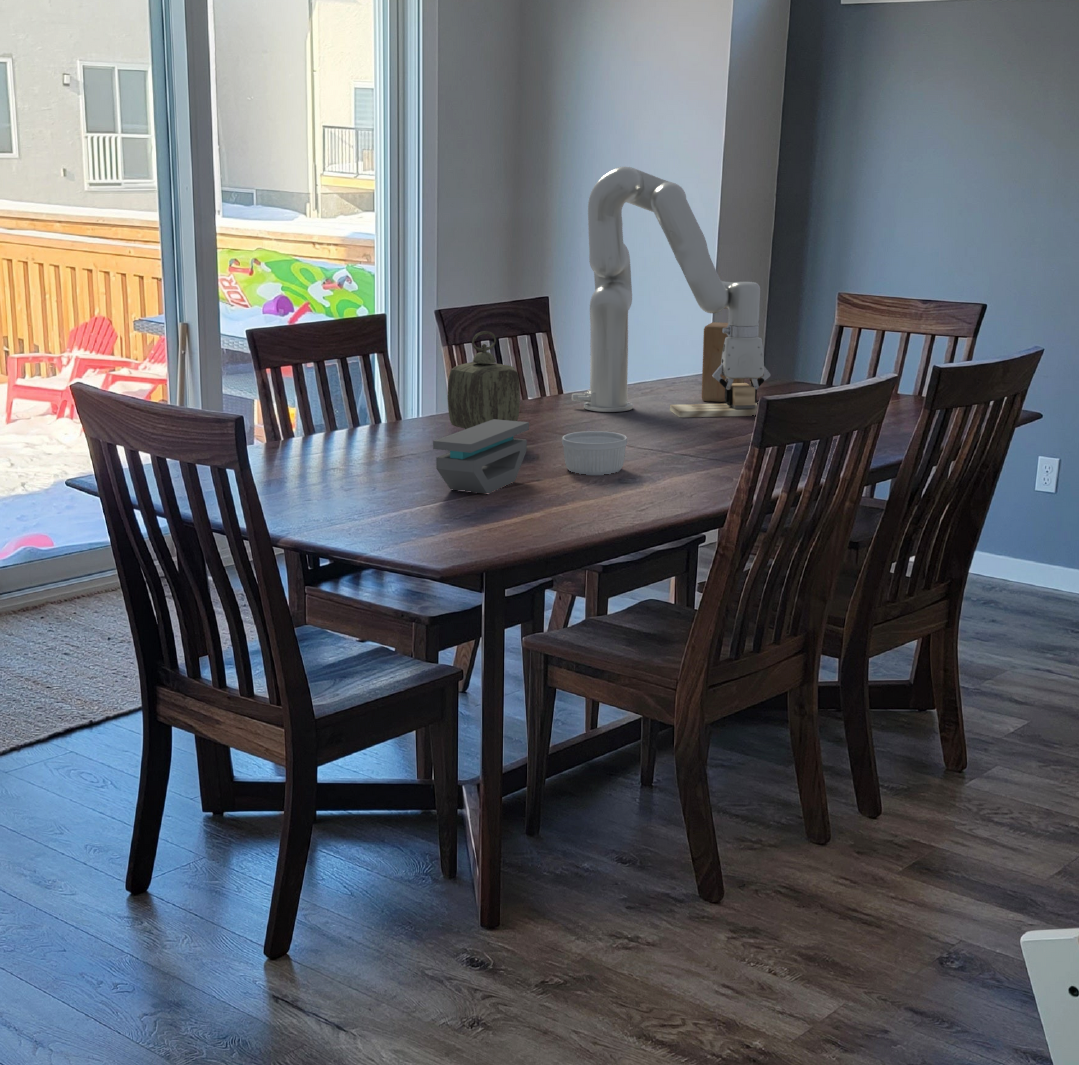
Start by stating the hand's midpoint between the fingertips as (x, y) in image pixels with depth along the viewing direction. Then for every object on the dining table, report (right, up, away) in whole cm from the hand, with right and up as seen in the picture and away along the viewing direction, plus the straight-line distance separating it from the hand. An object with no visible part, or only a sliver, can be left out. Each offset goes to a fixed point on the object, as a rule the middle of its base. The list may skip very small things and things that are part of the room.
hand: (740, 403), depth 344 cm
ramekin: (-40, -20, -65) cm, 79 cm away
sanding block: (0, 0, 0) cm, 0 cm away
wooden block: (-2, +3, +20) cm, 20 cm away
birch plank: (-5, -2, 0) cm, 5 cm away
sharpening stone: (-62, -24, -80) cm, 104 cm away
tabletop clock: (-63, -13, -39) cm, 75 cm away
